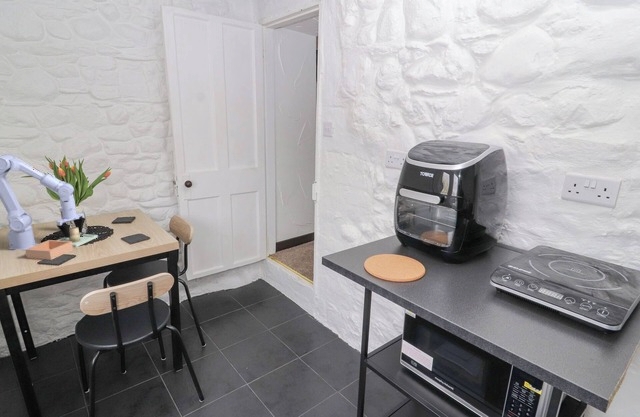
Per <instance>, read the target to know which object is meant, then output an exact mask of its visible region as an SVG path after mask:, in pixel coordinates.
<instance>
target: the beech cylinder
mask: <svg viewBox="0 0 640 417" xmlns="http://www.w3.org/2000/svg"><path fill="white" fill-rule="evenodd" d="M69 232H70V237H69V241H72V242H78V241H80V240H81V239H80V234H81V233H79V229H78V227H76V226H73V227H72V228H70V229H69Z"/></svg>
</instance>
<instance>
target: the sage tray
mask: <svg viewBox="0 0 640 417" xmlns="http://www.w3.org/2000/svg"><path fill="white" fill-rule="evenodd" d="M82 234H83V235H82V236H83V237H80V239H81V240H80V241H78V242H72V245H73V248H77V247H79V246H81V245H84V244H86V243H88V242H90V241H93V240H97V239H99V236H98V234H85V233H82ZM96 238H97V239H96ZM56 241H69V238H65V236H64V237H61V238H58V239H56Z"/></svg>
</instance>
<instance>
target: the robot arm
mask: <svg viewBox="0 0 640 417" xmlns="http://www.w3.org/2000/svg"><path fill="white" fill-rule="evenodd" d="M33 169H34V170H33ZM10 171H15V172H16V171H20V172H22V173H24V174H26V175H28V176H30V177H31V178H35V179H36V180H38V181H39V183H40V185H42V186H43V187H46V188H48V189H49V190H51V191H53V192H54V193H55V192H56V195H57V196H58V197H59V202H60V207H61V208H62V214H63V218H61V219H59V220H57V221H56V223H55V224H56V227H57V228H58V229H59V230H60V231H61V233H62V234H63V236H64V237H65V238H69V237H70V232H69V229H70V225H69V224H66V223H67V222H70V221H72V223H74V227H78V229H79V234H82V233H83V226H84V223H85V221H86V217H85V214H84V213H82V212H80V213H81V214H79V213H77V212H78V211H77V208H76V201H75V197H74V191H75V188H74V187H73V186H74V185H72V184H71V183H69V182H66V181H62V180H60V179H58V178H57V177H56V176H55V175H54V174H49V173H48V174H47V173H46V174H44V173H43V172H42V171H39V170H38V169H37V168H35V167H33V166H31V165H30V164H28V163H27V162H25V161H23V160H22V159H20V158H19V157H16V156H14V155H13V154H10V153H6V154H5V153H4V154H3V155H0V200H1V203H2V204H3V205H2V206H4V208H5V210H6V212H7V220H8V227H9V229H10V230H9V231H8V233H7V240H8V244H9V248H8V250H12V251H13V250H14V251H16V250H19V251H20V250H21V251H25V249H28V248H30V247H33V246H35V245H38V244H40V243H37V242H36V241H35V235H34V230H33V226H32V222H33V218H32V216H31V215H30V214H28V213H27V212H26V209H23V208H22V206H21V205H20V203H19V201H18V199H17V197H16V194H15V193H14V191H13V189H12V188H11V186H10V185H11V184H9V181H8V178H6V176H7V175H8V173H9V172H10Z"/></svg>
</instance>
